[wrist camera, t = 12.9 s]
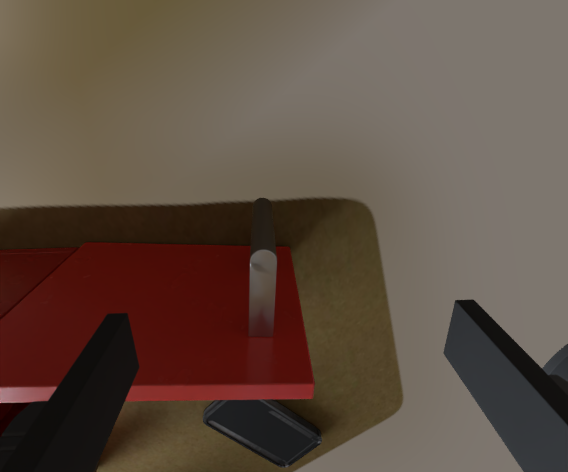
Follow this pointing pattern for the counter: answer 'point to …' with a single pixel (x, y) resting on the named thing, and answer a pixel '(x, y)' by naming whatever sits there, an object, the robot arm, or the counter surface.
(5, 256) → the cabinet
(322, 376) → the counter surface
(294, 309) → the red cabinet door
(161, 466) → the counter surface
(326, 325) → the counter surface
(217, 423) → the phone
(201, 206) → the counter surface
